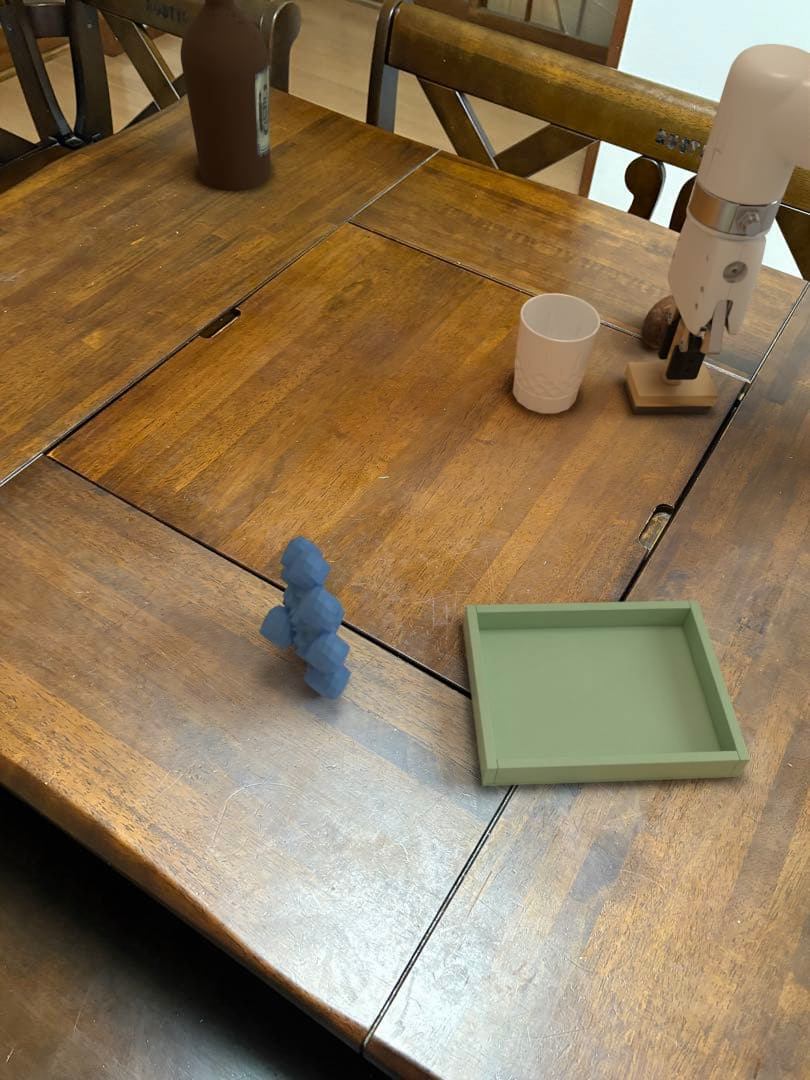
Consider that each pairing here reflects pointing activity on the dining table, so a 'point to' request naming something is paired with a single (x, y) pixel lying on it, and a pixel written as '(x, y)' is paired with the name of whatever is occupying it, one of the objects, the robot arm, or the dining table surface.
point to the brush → (668, 387)
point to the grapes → (310, 619)
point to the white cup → (553, 351)
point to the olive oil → (228, 96)
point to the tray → (598, 693)
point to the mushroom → (657, 322)
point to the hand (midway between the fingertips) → (676, 366)
